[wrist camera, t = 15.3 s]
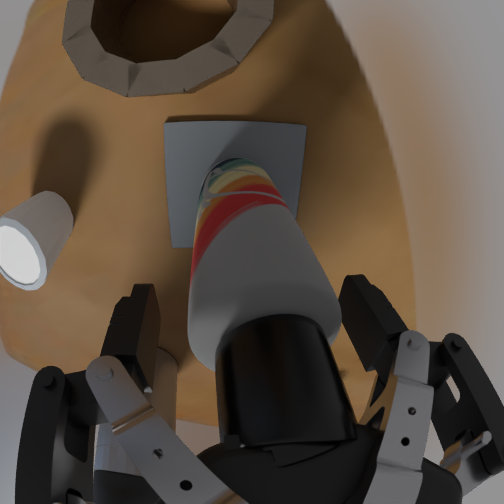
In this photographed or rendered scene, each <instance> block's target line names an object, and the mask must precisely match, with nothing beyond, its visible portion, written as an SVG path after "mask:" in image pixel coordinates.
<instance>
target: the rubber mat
mask: <svg viewBox="0 0 504 504" xmlns="http://www.w3.org/2000/svg"><path fill="white" fill-rule="evenodd" d="M306 131H307V125H301V124H290V123H277V122H260V121H181V122H165V123H164V147H165V170H166V187H167V201H168V213H169V224H170V234H171V243H172V248H190V247H193V246H194V236H195V227H196V219H197V211H198V203H199V195H200V189H201V185H202V182H203V179H204V177H205V175H206V173H207V172H208V171H209V170H210V168H211V167H213V166H214V165H215V164H216V163H218V162H220V161H222V160H224V159H228V158H233V157H240V158H246V159H249V160H252V161H254V162H256V163H257V164H259V165H260V166H261V167H262V168H263V169H264V170H265V171H266V173H267V174H268V176H269V177H270V179H271V180H272V182H273V183H274V185H275V187H276V188H277V190H278V192H279V193H280V195H281V197H282V198H283V200H284V202H285V203H286V205H287V207H288V208H289V210H290V212H291V214H292V215H293V217H294V219H295V220H296V215H297V208H298V200H299V192H300V184H301V176H302V167H303V159H304V150H305V140H306Z"/></svg>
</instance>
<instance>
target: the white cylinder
mask: <svg viewBox="0 0 504 504" xmlns="http://www.w3.org/2000/svg"><path fill="white" fill-rule="evenodd" d="M72 230H73V215H72V212H71V209H70V207H69V205H68V204H67V202H66V201H65V200H64V198H63V197H61V196H60V195H58V194H57V193H55V192H51V191H43V192H40V193H38V194H36V195H34V196H33V197H31V198H29V199H28V200H26V201H24V202H23V203H21V204H19V205H18V206H16V207H15V208H13V209H11V210H10V211H8V212H7V213H5V214H4V215H2V216H1V217H0V272H1V273H2V275H3V276H4V277H5V278H6V279H7V280H8V281H10V282H11V283H12V284H14V285H15V286H16V287H19V288H22V289H25V290H37V289H38V288H39V287H41V286H42V285H43V284H44V283H45V281H46V279H47V277H48V275H49V273H50V271H51V269H52V267H53V265H54V263H55V261H56V259H57V258H58V256H59V254H60V252H61V250H62V249H63V247H64V245H65V243H66V242H67V240H68V238H69V237H70V234H71V232H72Z"/></svg>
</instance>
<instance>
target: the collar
mask: <svg viewBox="0 0 504 504" xmlns="http://www.w3.org/2000/svg"><path fill="white" fill-rule="evenodd" d="M135 1H136V0H69V1H68V3H67V8H66V14H65V21H64V29H63V38H62V43H63V44H62V45H63V46H64V48H65V50H66V52H67V54H68V55H69V57H70V59H71V61H72V62H73V64H74V66H75V67H76V69H77V71H78V73H79V74H80V76H81V78H83V79H84V80H86V81H88V82H91V83H93V84H96V85H98V86H101V87H103V88H106V89H108V90H110V91H113V92H115V93H117V94H120V95H122V96H124V97H142V96H158V95H170V94H186V93H192V92H193V93H195V92H196V91H198V90H200V89H202V88H204V87H206V86H207V85H209V84H211V83H213V82H215V81H217V80H219V79H221V78H223V77H225V76H227V75H229V74H231V73H232V72H234V70H235V69H236V68H237V66H238V65H239V64H240V62H241V61H242V60H243V58H244V57H245V56H246V54H247V53H248V52H249V50H250V49H251V48H252V46H253V45H254V44H255V43H256V41H257V40H258V39H259V37H260V36H261V35H262V34H263V32H264V31H265V30H266V29H267V28H268V26H269V25H270V24H271V23H272V21H273V10H274V0H227V1H228V2H229V4H230V5H231V7H232V8H233V11H232V17H231V18H230V20H229V21H228V22H227V23H226V25H225V26H224V27H223V28H222V30H221V31H220V32H219V33H218V35H217V36H216V37H215V39H214V40H212V41H210V42H208V43H206V44H204V45H202V46H200V47H198V48H196V49H194V50H192V51H190V52H188V53H187V54H185V55H183V56H181V57H179V58H178V59H174V60H162V61H153V62H144V63H136V62H134V61H133V60H132V58H131V57H130V55H129V53H128V52H127V50H126V49H125V47H124V45H123V44H122V42H121V36H122V25H123V17H124V16H125V14H126V13H127V12H128V10H129V9H130V7H131V6H132V5H133V3H134V2H135Z"/></svg>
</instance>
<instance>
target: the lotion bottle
mask: <svg viewBox="0 0 504 504" xmlns="http://www.w3.org/2000/svg"><path fill="white" fill-rule="evenodd" d="M341 321H342V313H341V308H340V304H339V301H338V299H337V297H336V294H335V292H334V290H333V288H332V286H331V284H330V282H329V280H328V278H327V276H326V274H325V272H324V271H323V269H322V267H321V265H320V263H319V261H318V259H317V258H316V256H315V254H314V252H313V250H312V249H311V247H310V245H309V243H308V241H307V240H306V238H305V236H304V234H303V233H302V231H301V229H300V227H299V226H298V224H297V222H296V220H295V219H294V217H293V215H292V214H291V212H290V210H289V208H288V207H287V205H286V203H285V202H284V200H283V198H282V197H281V195H280V193H279V192H278V190H277V188H276V187H275V185H274V183H273V182H272V180H271V179H270V177H269V176H268V174H267V173H266V171H265V170H264V169H263V168H262V167H261V166H260V165H259V164H257V163H256V162H254V161H252V160H249V159H246V158H240V157H233V158H228V159H224V160H222V161H220V162H218V163H216V164H215V165H214V166H213V167H211V168H210V170H209V171H208V172H207V173H206V175H205V177H204V179H203V182H202V185H201V189H200V195H199V203H198V211H197V219H196V227H195V236H194V246H193V256H192V266H191V277H190V290H189V304H188V340H189V344H190V347H191V350H192V352H193V353H194V355H195V356H196V357H197V359H198V360H199V361H200V362H201V363H202V364H204V365H205V366H206V367H208V368H209V369H211V370H213V371H215V376H216V393H217V408H218V421H219V433H220V443H223V442H224V436H225V435H238V436H239V442H240V447H241V449H242V448H244V449H256V448H262V449H263V450H264V451H265V452H266V451H272V453H273V456H274V459H275V461H273V463H274V465H275V466H277V467H279V468H283V467H288V466H292V465H295V464H299V463H302V462H305V461H307V460H310V459H313V458H316V457H318V456H321V455H323V454H326V453H328V452H330V451H333V450H335V449H336V448H338V447H339V446H340V442H343V441H355V440H357V439H358V437H357V430H356V428H357V424H358V423H357V420H356V417H355V414H354V411H353V408H352V405H351V402H350V400H349V397H348V394H347V391H346V388H345V386H344V383H343V380H342V377H341V374H340V372H339V369H338V366H337V364H336V361H335V358H334V356H333V353H332V350H331V348H330V346H331V345H332V343H333V342H334V340H335V338H336V337H337V334H338V332H339V329H340V326H341Z"/></svg>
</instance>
